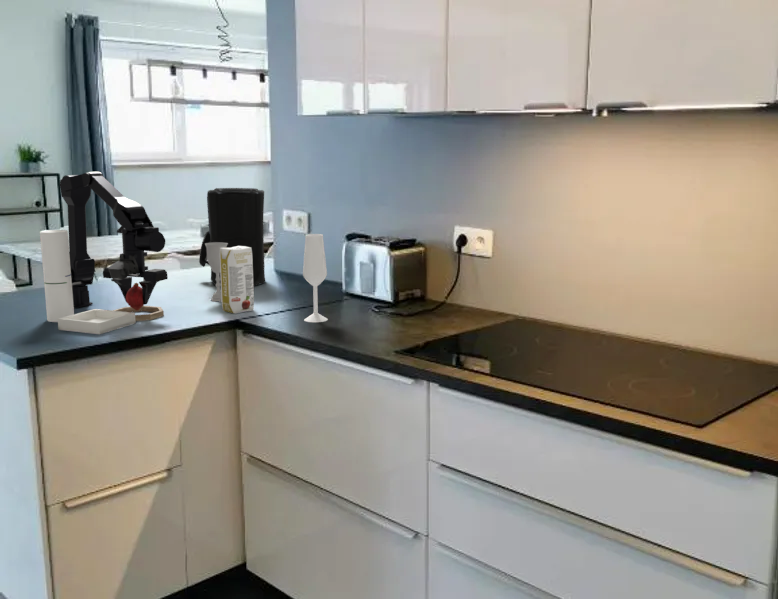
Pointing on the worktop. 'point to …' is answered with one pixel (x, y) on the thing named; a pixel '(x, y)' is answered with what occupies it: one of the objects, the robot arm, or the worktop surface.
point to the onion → (135, 297)
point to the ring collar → (157, 313)
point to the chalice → (215, 264)
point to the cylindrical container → (57, 274)
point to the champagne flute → (314, 269)
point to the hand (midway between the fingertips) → (136, 303)
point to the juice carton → (236, 279)
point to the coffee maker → (236, 225)
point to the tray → (96, 321)
